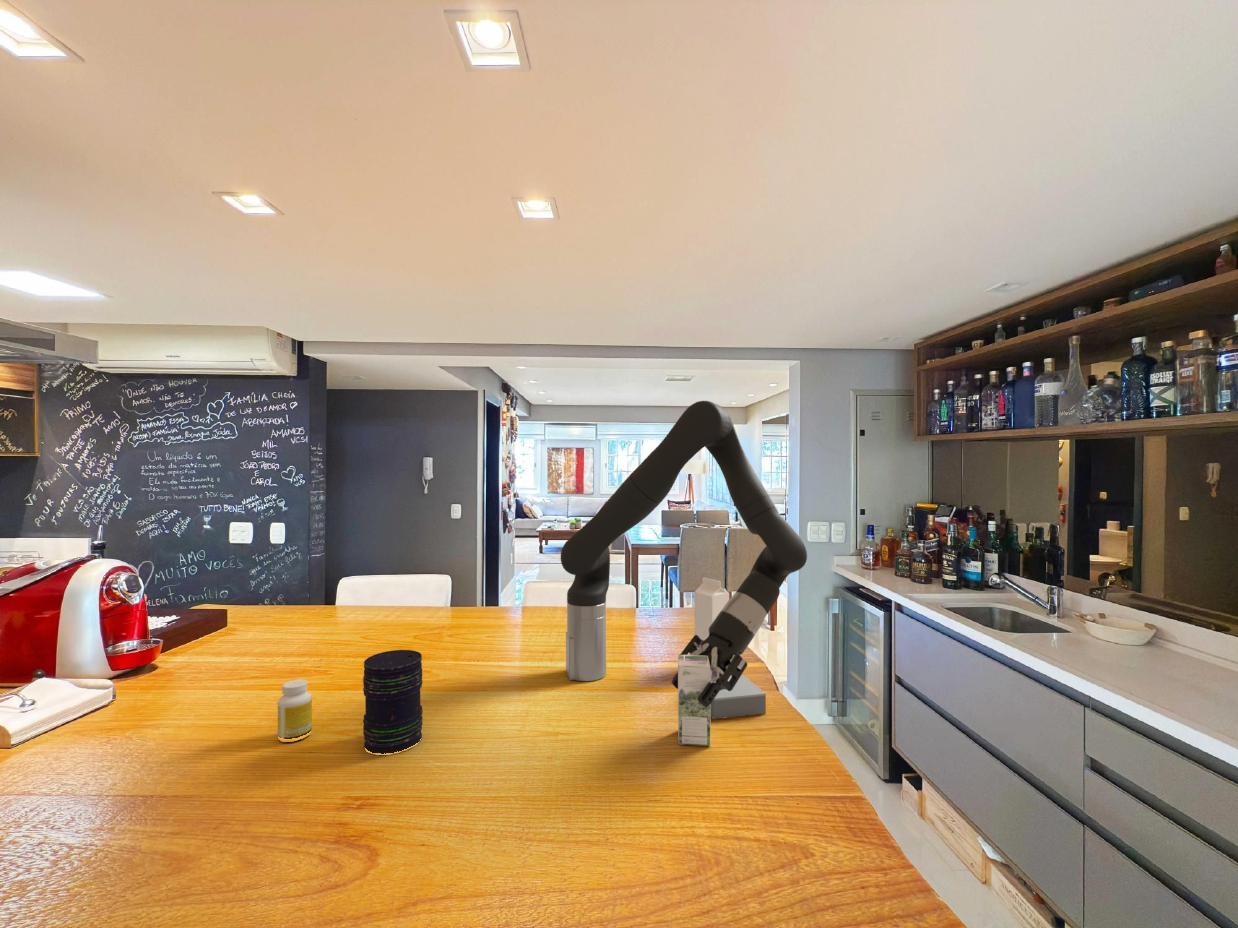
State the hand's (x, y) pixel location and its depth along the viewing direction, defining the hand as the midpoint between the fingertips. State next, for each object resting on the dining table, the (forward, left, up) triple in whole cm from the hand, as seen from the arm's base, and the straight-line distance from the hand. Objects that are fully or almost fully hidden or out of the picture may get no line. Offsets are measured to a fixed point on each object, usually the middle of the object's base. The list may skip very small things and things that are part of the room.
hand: (687, 695), depth 100 cm
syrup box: (+1, 0, -8) cm, 8 cm away
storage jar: (-52, +11, -8) cm, 54 cm away
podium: (+13, +12, -8) cm, 20 cm away
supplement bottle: (-70, +17, -8) cm, 72 cm away
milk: (+17, +31, -8) cm, 37 cm away
